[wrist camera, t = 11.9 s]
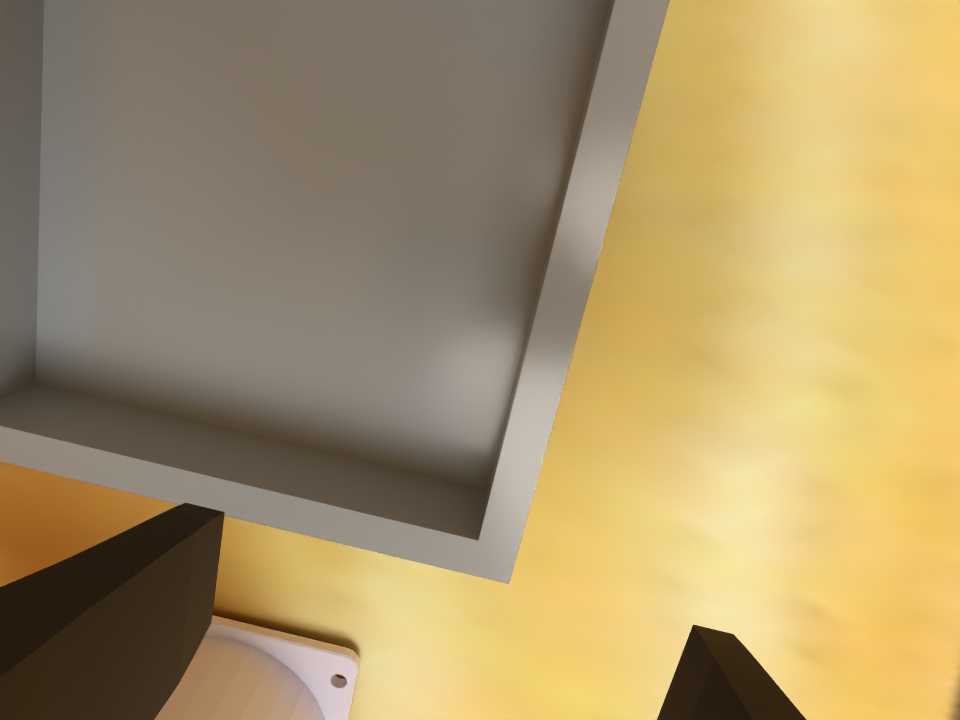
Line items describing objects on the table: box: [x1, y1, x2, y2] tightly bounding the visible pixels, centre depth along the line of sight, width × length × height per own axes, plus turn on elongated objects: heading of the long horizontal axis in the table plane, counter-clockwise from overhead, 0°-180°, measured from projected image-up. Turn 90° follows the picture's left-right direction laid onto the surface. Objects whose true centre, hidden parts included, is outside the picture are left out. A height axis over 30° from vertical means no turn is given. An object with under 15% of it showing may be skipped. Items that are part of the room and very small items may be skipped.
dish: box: [0, 0, 669, 584], centre depth 17 cm, size 15×15×3 cm
